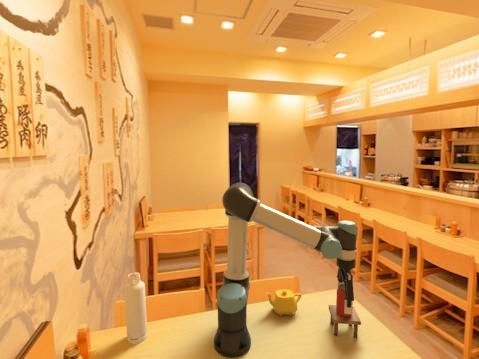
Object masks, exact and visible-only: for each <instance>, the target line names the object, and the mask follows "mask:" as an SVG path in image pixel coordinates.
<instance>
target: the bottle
mask: <svg viewBox="0 0 479 359" xmlns="http://www.w3.org/2000/svg"><path fill="white" fill-rule="evenodd" d="M131 275H135V276H133V277H132V276H131ZM127 281H128V282H127V283H126V284H125V285H124V289H123V291H124V308H125V309H124V310H125V322H126V323H125V324H126V325H125V326H126V340H128V341H127V343H129V342H130V343H129V344H131V343H133V344H132V345H135V344H134V343H137V344H140V343H142V342H144V341H145V340H146V339H147V338H146V337H148V324H147V321H148V319H147V305H146V304H147V303H146V302H147V301H146V284H145V282H144V281H142V280H141V273H140V272H138V271H135V272H131V273H129V274H127ZM143 340H144V341H143Z"/></svg>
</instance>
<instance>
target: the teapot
mask: <svg viewBox="0 0 479 359" xmlns="http://www.w3.org/2000/svg"><path fill="white" fill-rule="evenodd" d="M265 294H266V295H267V297H268V301H269V304H270V305H271V306H272V308H273V310H274V311H275V313H276V314H278V316H281V317H282V316H283V315H284V316H285V315H286V316H287V315H289V316H293V315H294V314H296V312H297V311H298V302H299V301H300V300H301V299H302V294H301V293H299V292H296V293H294V292H293V291H292V290H291V289H277V290H275V292H274V294H273V297H272V294H271V293H270V292H268V291H267V292H265ZM296 297H297V298H296Z"/></svg>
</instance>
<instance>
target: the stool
mask: <svg viewBox="0 0 479 359" xmlns="http://www.w3.org/2000/svg"><path fill="white" fill-rule="evenodd" d="M328 310H329V313H330V323H329V324H330V325H333V336H334V337H338V336H339V324H341V325H348V326H350V327H352V326H353V334H352V336H353V338H355V339H358V332H359V329H358V328H359V326H361V325H362V322H361V319H360V317H359V314H358V312H357V310H356V309H355V307H354V306H352V315H351V316H349V317H343V316H340V315H339V314H338V313H337V312H336V304H333V305H332V304H328Z"/></svg>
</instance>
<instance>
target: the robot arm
mask: <svg viewBox="0 0 479 359" xmlns="http://www.w3.org/2000/svg"><path fill="white" fill-rule="evenodd" d="M221 198H222V199H221V200H222V201H221V202H222V206H223V208H224V209H225V210H224V213H225V214H224V215H225V216H226V217H227V218H228V221H227V222H228V224H227V229H228V230H227V254H226V255H227V260H226V261H227V262H226V269H225V270H224V271H223V283H222V286H221V287H220V288H219V289H218V292H217V297H216V304H217V329H216V331H215V335H214V339H213V347H214V350H215V352H216V353H217V354H218V355H220V356H222V357H225V358H239V357H242V356H244V355H246V354H247V353H248V352H249V350H250V349H251V346H252V338H251V334H250V332H249V330H248V329H249V328H248V326H247V307H248V306H247V305H248V299H249V291H250V287H251V283H250V272H249V270H247V260H248V259H247V258H248V256H247V254H248V253H247V252H248V227H249V223H256V224H258V225H260V226H262V227H264V228H267V229H269V230H271V231H273V232H276V233H278V234H280V235H283V236H285V237H287V238H289V239H292V240H293V241H296V242H297V243H299V244H302V245H305V246H307V247H309V248H311V249H313V250H315V251H318V252H319V253H321V255H323V257H325V258H326V259H329V260H335V259H336V261H335V262H336V266H337V267H338V269H337V272H336V273H337V274H336V278H337V286H338V285H340V284H344V287H345V295H346V298H344V299H345V308H344V313H345V314H352V307H353V305H352V301H353V302H354V301H355V296H354V294H355V293H354V283H353V282H354V281H353V280H354V275H353V274H352V272H351V270H353V269H355V268H356V253H358V250H356V249H357V236H358V228H357V224H356V222H354V221H350V220H339V221H338V222H337V225H334V226H333V225H318V224H317V225H310V224H308V223H305V222H303V221H300V220H298V219H296V218H294V217H292V216H290V215H287V214H285V213H283V212H281V211H279V210H276V209H274V208H271V207H270V206H267V205H265V204H263V203H261V201H260V199H259V198H256V197H254V193H253V190H252V189H251V187H250V186H249V185H248V184H246V183H243V182H235V183H232V184H231V185H230V186H228V188H227V189H226V190H225V191H224V193H223V195H222V197H221Z"/></svg>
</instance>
